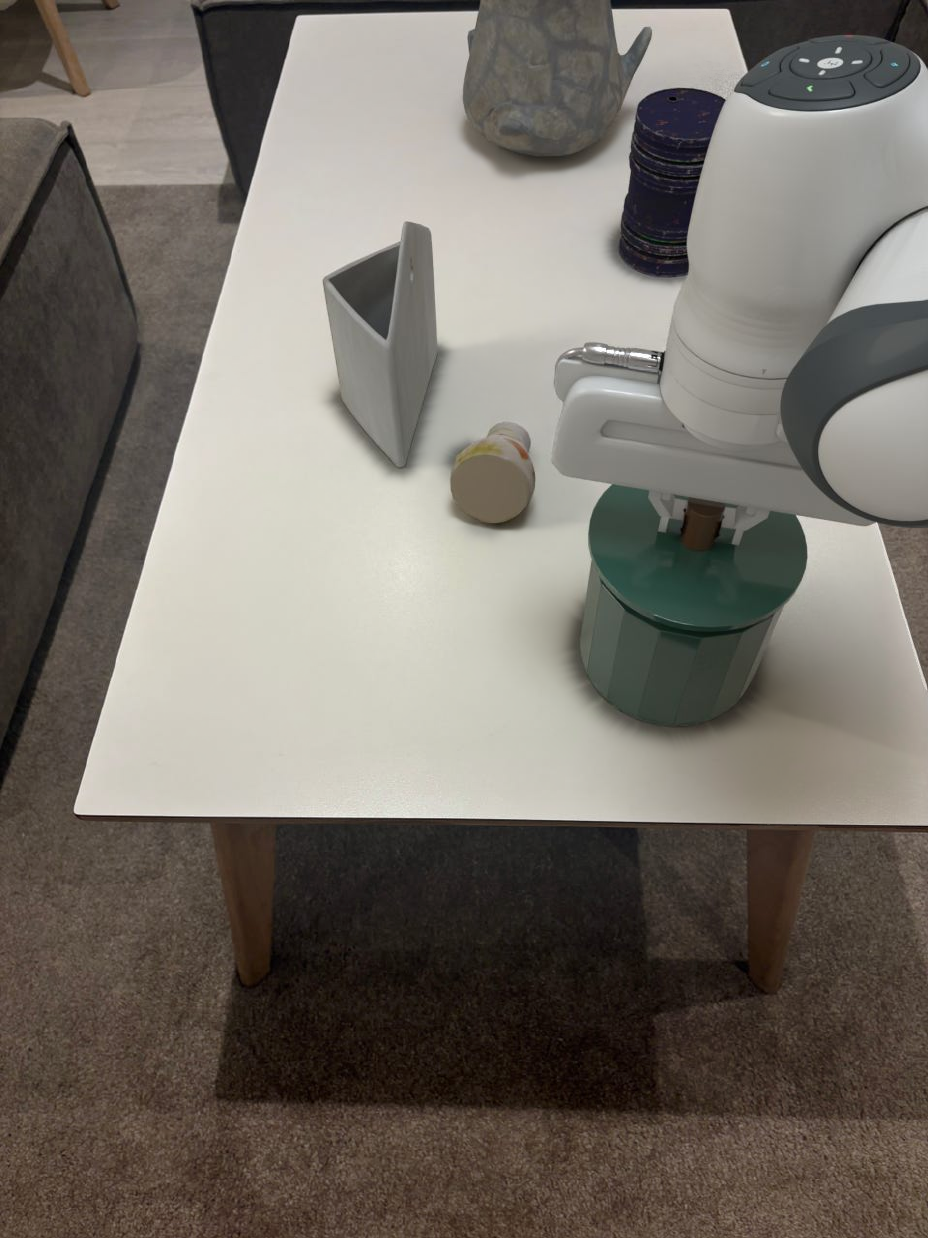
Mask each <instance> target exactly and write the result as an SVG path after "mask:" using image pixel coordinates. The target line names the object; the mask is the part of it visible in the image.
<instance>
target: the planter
mask: <svg viewBox="0 0 928 1238" xmlns="http://www.w3.org/2000/svg"><path fill="white" fill-rule="evenodd" d="M433 252H434V249H433V237H432V231H431V229H430V228H429V227H427V226H425V225H423V224H420V223H416V222H412V221H404V222H403V224H402V228H401V236H400V241H397V242H395V243H393V244H390V245H388V246H386V247H383V248H381V249H379V250H376V251H375V252H372V253H370V254H368V255H365V256H363V257H361V258H359V259H356V260H354V261H352V262H349V263H347V264H345V265H343V266H342V267H340V268H338V269H336V270H334V271H333V272H331V273H329V274H327V275H325V276H324V277H323V278H322V288H323V294H324V300H325V307H326V312H327V318H328V325H329V329H330V334H331V335H330V336H331V342H332V346H333V347H332V348H333V353H334V359H335V360H334V361H335V366H336V373H337V379H338V387H339V392H340V398H341V400H342V402H343V404H344V405H345V407H346V408H347V409H348V410H349V412H350V414H351V415H352V416H353V418H354V419H355V421H356V422H357V423H358V424H359V425H360V426H361V428H362V429H363V430H364V432H365V433H366V434H367V435H368V436H369V437H370V438H371V439H372V441H373V442H374V443H375V444H376V445H377V446H378V447H379V448H380V450H381V451H382V452H383V453H384V454H385V455H386V456H387V457H388V458H389V459H390V460H391V461H392V463H393V464H394V465H395V466H396V467H397V468H401V469H403V468H404V467H405V466H406V464H407V460H408V455H409V452H410V449H411V445H412V442H413V438H414V436H415V432H416V427H417V424H418V421H419V418H420V415H421V410H422V409H423V408H422V407H423V404H424V401H425V398H426V397H425V396H426V395H427V390H428V387H429V383H430V379H431V376H432V373H433V370H434V366H435V363H436V359H437V356H438V353H439V350H438V349H439V348H438V331H437V330H438V329H437V328H438V327H437V309H436V308H437V307H436V292H435V291H436V289H435V273H434V272H435V269H434V253H433Z"/></svg>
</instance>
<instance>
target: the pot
mask: <svg viewBox="0 0 928 1238" xmlns="http://www.w3.org/2000/svg"><path fill="white" fill-rule="evenodd" d="M590 559H591V558H590ZM785 606H786V604H785V605H784V606H783V607H782V608H781V609H780V610H779V611H777V612H776V613H774V614H773V615H771V616H769V617H768V618H766V619H764V620H762V621H760V622H758V623H755V624H752V625H749V626H746V627H743V628H739V629H734V630H728V631H716V632H705V631H692V630H685V629H680V628H676V627H672V626H668V625H665V624H662V623H659V622H657V621H654V620H652V619H650V618H648V617H646V616H643V615H641V614H640V613H638V612H636V611H635V610H633V609H632V608H630V607H628V606H627V605H626V604H625V603H623V602H622V601H621V600H620V599H618V598H617V597H616V596H615V595H614V594H613V593H612V592H611V591H610V590H609V589H608V587H607V586H606V585H605V583H604V582H603V581H602V579H601V578H600V576H599V574H598V573H597V571H596V569H595V567H594V564H593V562H592V559H591V560H590V568H589V574H588V581H587V588H586V595H585V601H584V610H583V617H582V623H581V631H580V637H579V649H580V656H581V662H582V666H583V668H584V672H585V673H586V675H587V677H588V679H589V681H590V683H591V685H593V687H594V688H595V690H596V691H597V692H598V693H599V694H600V695H601V696H602V698H603V699H605V700H606V701H607V702H608V703H609V704H610V705H611V706H613V707H614V708H616V709H617V710H619V711H620V712H622V713H624V714H626V715H627V716H630V717H632V718H634V719H636V720H639V721H642V722H645V723H648V724H653V725H657V726H664V727H686V726H693V725H699V724H703V723H706V722H709V721H712V720H714V719H716V718H719V716H722V715H723V714H725V713H726V712H728V711H729V710H730V709H732V707H734V706H735V705H736V704H737V703H738V702H739V700H741V698H742V697H743V695H744V694H745V693H746V691H747V689H748V687H749V685H750V684H751V683H752V681H753V679H754V677H755V675H756V673H757V671H758V668H759V666H760V663H761V661H762V659H763V656H764V654H765V652H766V649H767V647H768V645H769V642H770V641H771V638H772V635H773V634H774V631H775V628H776V626H777V624H778V622H779V619H780V617H781V615H782V612H783V610H784V607H785Z"/></svg>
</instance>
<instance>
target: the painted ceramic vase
mask: <svg viewBox="0 0 928 1238" xmlns="http://www.w3.org/2000/svg"><path fill="white" fill-rule="evenodd" d="M531 441H532V440H531V436H530V434H529V432H528V431H527V429H525V427H523V426H521V425H519V424H518V423H515V422H511V421H502V422H498V423H496V424H495V425H494V426H493V425H492V427H491V428H490V429H489V431H488V432H487V435H486V437H483V438H481V439H478V440H476V441H474V442H472V443H470V444H469V445H468V446H466V448H464V449H462V450H461V451H460V452H458V454H457V455H456V456H455V459H454V463H453V465H452V469H451V472H450V479H449V483H450V485H449V486H450V493H451V495H452V498H453V500H454V501H455V503H456V505H457V506H458V508H459V510H460V511H461V512H463V513H464V514H467V515H468V516H471V517H472V518H475V519H476V520H477V521H480V522H482V523H487V524H499V523H504V522H508V521H510V520H512V519H514V518H516V517H517V516H518V515H520V514H521V513H522V512H523V511H524V510H525V509H526V508H527V507H528V506H529V504H530V501H531V499H532V498H533V495H534V491H535V488H536V472H535V467H534V464H533V462H532V459H531V457H530V455H529V452H530V449H531V444H532V442H531Z"/></svg>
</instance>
